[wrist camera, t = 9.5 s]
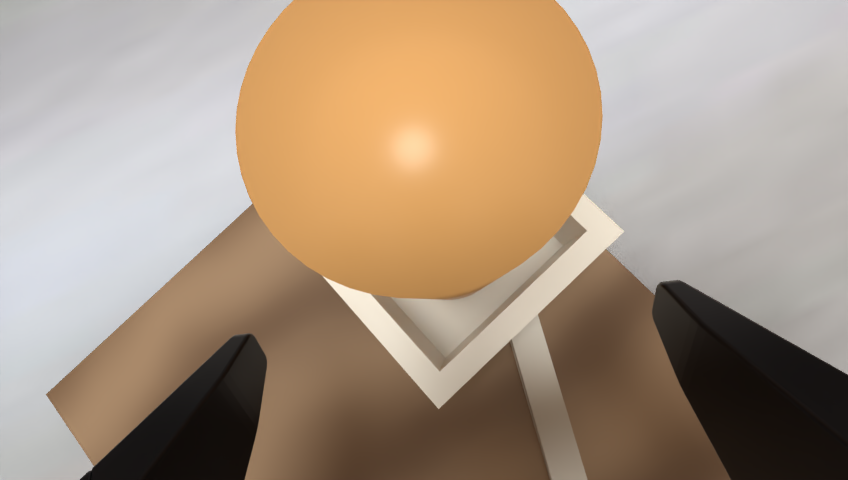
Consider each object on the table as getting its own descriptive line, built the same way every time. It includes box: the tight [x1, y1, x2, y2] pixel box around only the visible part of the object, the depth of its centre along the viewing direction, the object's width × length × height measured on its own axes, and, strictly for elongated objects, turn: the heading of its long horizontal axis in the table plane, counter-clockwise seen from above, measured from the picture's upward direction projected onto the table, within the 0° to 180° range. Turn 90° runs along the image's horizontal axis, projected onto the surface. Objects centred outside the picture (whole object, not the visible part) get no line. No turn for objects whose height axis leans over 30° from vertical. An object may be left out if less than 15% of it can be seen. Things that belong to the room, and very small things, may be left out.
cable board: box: [46, 204, 731, 480], centre depth 16 cm, size 26×22×4 cm
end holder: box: [323, 194, 624, 409], centre depth 16 cm, size 8×8×4 cm
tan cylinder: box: [236, 0, 602, 300], centre depth 11 cm, size 4×4×12 cm
